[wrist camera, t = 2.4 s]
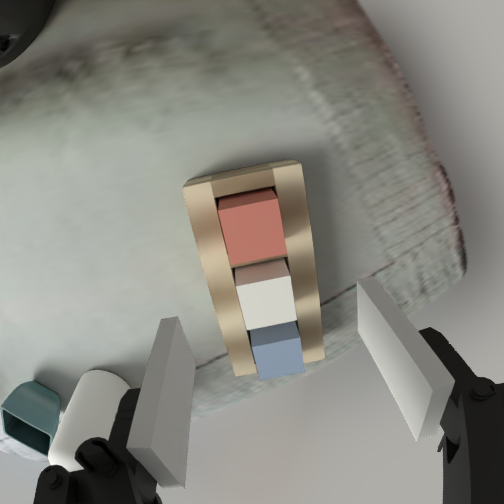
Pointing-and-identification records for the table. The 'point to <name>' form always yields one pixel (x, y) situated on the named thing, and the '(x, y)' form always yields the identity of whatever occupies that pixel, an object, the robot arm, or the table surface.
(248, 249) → the red key
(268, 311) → the white key
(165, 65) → the table surface
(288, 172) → the wooden block holder
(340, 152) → the table surface
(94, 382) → the potion bottle
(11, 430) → the flower pot
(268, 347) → the blue short block
